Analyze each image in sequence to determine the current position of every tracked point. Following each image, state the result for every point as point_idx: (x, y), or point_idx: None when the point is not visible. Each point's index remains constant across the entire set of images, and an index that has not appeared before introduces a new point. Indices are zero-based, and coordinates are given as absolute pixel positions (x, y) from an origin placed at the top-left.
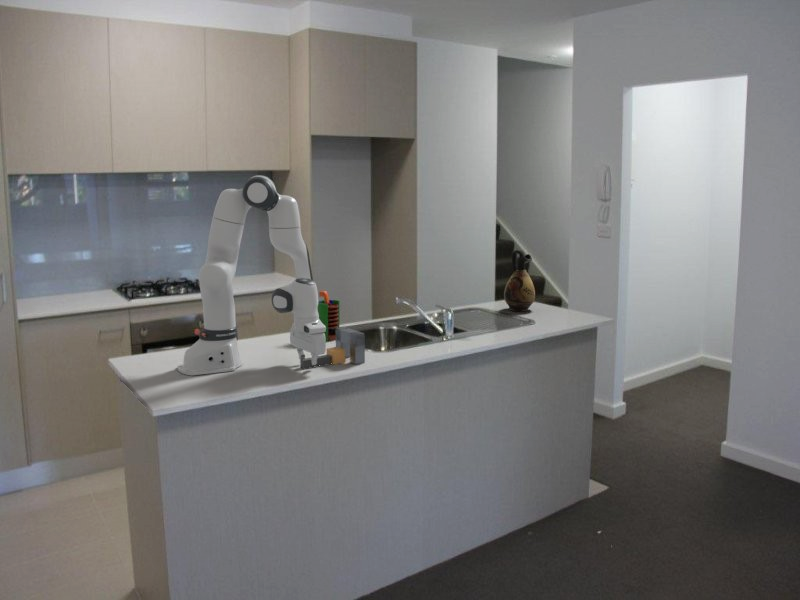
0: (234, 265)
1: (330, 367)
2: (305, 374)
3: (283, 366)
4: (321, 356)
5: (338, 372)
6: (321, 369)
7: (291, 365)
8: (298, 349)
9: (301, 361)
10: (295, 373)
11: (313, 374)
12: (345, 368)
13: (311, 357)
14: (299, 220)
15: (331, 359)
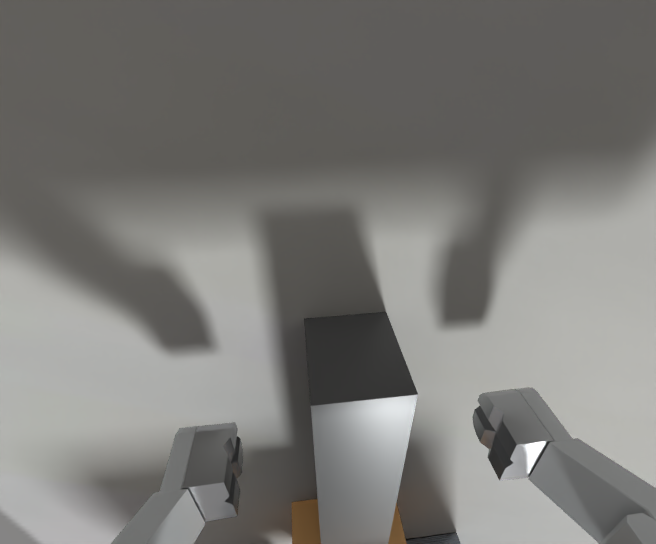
0: None
1: None
2: (26, 254)
3: (589, 159)
4: (366, 540)
5: (39, 489)
6: None
7: (533, 262)
8: (637, 532)
9: (375, 378)
10: (131, 152)
11: (5, 329)
12: None
13: (398, 488)
14: None
15: (320, 539)
